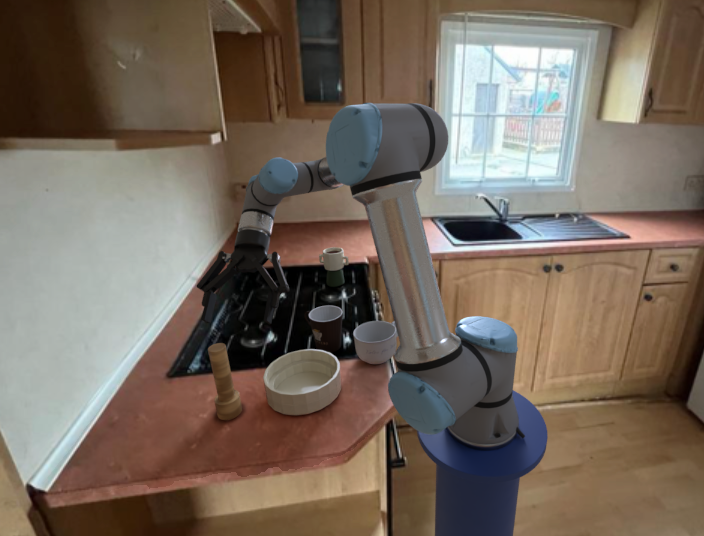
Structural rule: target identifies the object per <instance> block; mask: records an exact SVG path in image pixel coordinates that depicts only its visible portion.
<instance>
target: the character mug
mask: <svg viewBox="0 0 704 536" xmlns="http://www.w3.org/2000/svg"><path fill="white" fill-rule="evenodd" d="M318 260H319V263H320V264H323V267H324V270H326V286H329V287H331V288H336V287H339V286H342V285H345V277H344V272H343V269H344V267H345V266H349V256H347V255H345V252H344V249H343V248H342V247H337V246H333V247H327V248H325V249H323V250H322V253H320V254H318Z"/></svg>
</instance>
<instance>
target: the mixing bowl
mask: <svg viewBox="0 0 704 536" xmlns="http://www.w3.org/2000/svg"><path fill="white" fill-rule="evenodd" d="M341 372H342V371H341V363H340V361H339V359H338V357H337V356H336V355H334V354H333V353H330V352H326V351H323V350H317V348H316V349H315V348H305V349H299V350H295V351H291V352H288V353H285V354H283V355H281V356H279V357H278V358H276V359H274V360H273V361H272V362H271V363H270V364H269V365H268V366H267V368H266V369H265V370H264V373H263V376H262V380H263V386H264V392H265V397H266V401H267V405H269V407H270V408H271V409H272V410H273V411H275V412H278V413H280V414H282V415H288V416H302V415H309V414H312V413H315V412H318V411H320V410H322V409H324V408H326V407H327V406H329V405H331V404H332V403H333V402H334V401H335V400H336V399H337V398H338V396H339V395H340V392H341V390H342V374H341Z"/></svg>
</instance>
